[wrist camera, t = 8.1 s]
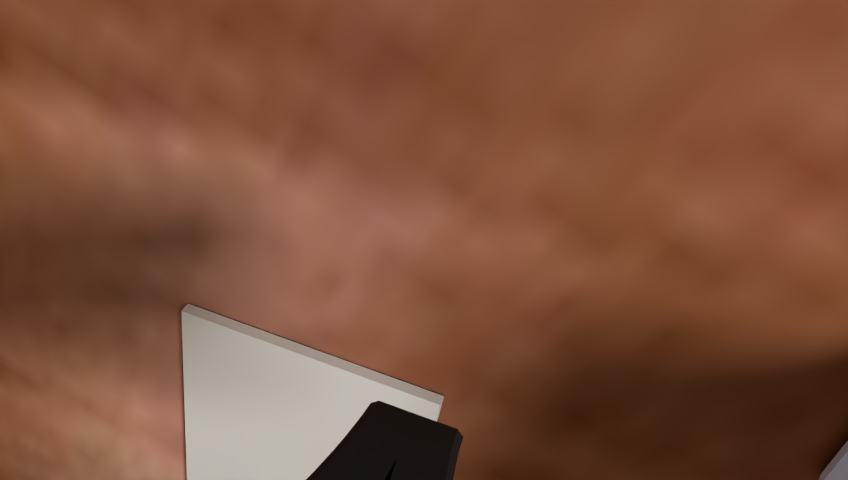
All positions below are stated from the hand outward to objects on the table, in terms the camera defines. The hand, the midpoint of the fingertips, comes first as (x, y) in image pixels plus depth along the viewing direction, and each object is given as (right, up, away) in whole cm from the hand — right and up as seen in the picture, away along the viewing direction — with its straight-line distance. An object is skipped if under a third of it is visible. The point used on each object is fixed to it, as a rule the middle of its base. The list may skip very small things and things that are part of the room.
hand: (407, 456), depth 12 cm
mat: (-5, -8, +20) cm, 22 cm away
